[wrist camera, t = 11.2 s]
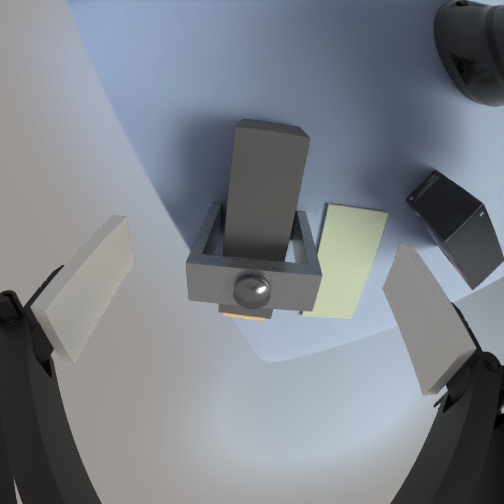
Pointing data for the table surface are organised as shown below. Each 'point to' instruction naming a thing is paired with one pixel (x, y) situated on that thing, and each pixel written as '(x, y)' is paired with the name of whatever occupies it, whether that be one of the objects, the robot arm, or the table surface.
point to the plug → (262, 196)
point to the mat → (346, 258)
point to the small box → (458, 227)
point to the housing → (253, 272)
